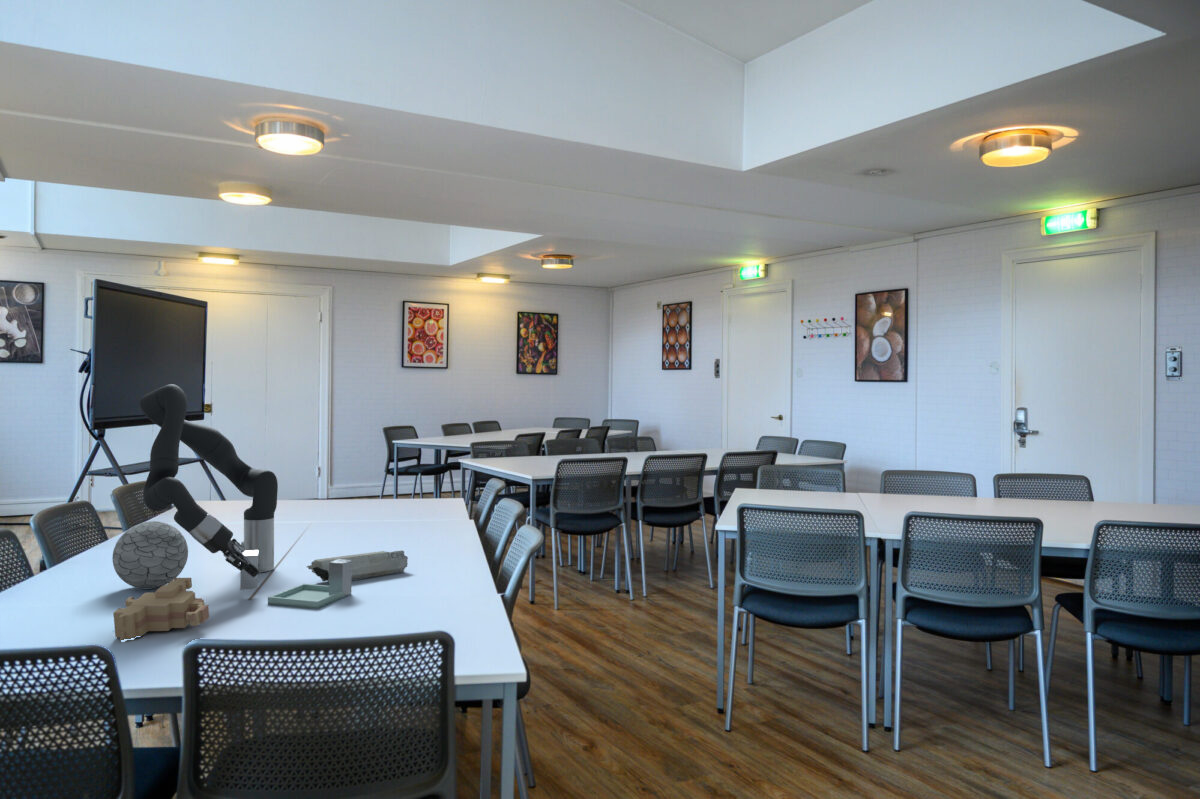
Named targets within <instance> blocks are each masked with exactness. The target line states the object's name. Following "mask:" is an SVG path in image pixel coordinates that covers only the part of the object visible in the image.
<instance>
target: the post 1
mask: <svg viewBox="0 0 1200 799" xmlns="http://www.w3.org/2000/svg"><path fill="white" fill-rule="evenodd" d="M240 551H241V550H240ZM241 552H242V553H243V554H244V555H245V557H244V558H245V559H246V560H247V561H249V563H250V564H252V565H253V566H254V567H255V568H256V569H258V550H245V551H241ZM240 564H241V565H242V564H243V563H241V562H240ZM258 575H259V573H258V574H257V575H256V576H255V577H252V576H251V575H250V574H249V573H247V572H246V571H245V570H242V571H240V585H239V586H240V591H243V590H244V591H245V590H255V589H256V590H257V589H258V583H259V582H258V580H259V579H258V578H259V576H258Z"/></svg>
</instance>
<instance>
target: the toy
mask: <svg viewBox="0 0 1200 799" xmlns="http://www.w3.org/2000/svg"><path fill="white" fill-rule="evenodd" d="M192 582H193V581H192V577H176V578H174V580H172V581H171V582H170V583H168V584H166V585H163V586H161V587H158V589H156V590H155V591H154V592H144V593H143V594H142V595H141V596H139V597H138V598H135V597H134V596H129V597H128V598H126V599H125V601H124V602H125V607H124V608H122V607H120V608H117V609H116V610H115V611H114V612H112V613H113V623H114V624H113V625H114V634H115V635H114V636H115V638H116V637H120V638H119V640H124V639H131V638H135V637H136V636H142V635H143V634H144V635H145V634H147V632H169V631H170V630H171V629H185V628H187V627H188V626H190V627H194V626H195V627H198V626H199V625H200V624H203V623H205V622H206V621H208V619H209V618H210V611H209V610H210V609H209V604H206V603H205V599H203V598H196V592H195V591H193V590H189V589H191V588H192V587H193V584H192ZM144 635H143V636H144ZM143 636H142V637H143Z"/></svg>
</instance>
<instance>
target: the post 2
mask: <svg viewBox="0 0 1200 799" xmlns="http://www.w3.org/2000/svg"><path fill="white" fill-rule="evenodd" d="M351 577H352V560H342V559H337V560H334V561H332V562H329V581H328V586H329V595H332V594H334V593H336V592H339V591H342V592H343V594H344V596H346V597H348V596H350V595H349V594H351V595H352V580H351ZM347 595H348V596H347Z"/></svg>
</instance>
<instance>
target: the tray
mask: <svg viewBox="0 0 1200 799" xmlns="http://www.w3.org/2000/svg"><path fill="white" fill-rule="evenodd" d="M343 597H344V598H345V596H344V594H343V592H342V591H339V592H336V593H334V594H332V595H329V585H324V584H313V583H301V584H299V585H296V586H294V587H291V588H289V589H286V590H283V591H281V592H278V593H276V594H273V595H270V596H268V597H267V605H273V606H283V607H293V608H302V609H315V610H319V609H320V608H323V607H325V605H326V606H328V605H331V604H332V603H334V602H337V601H340V600H341V599H343Z"/></svg>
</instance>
